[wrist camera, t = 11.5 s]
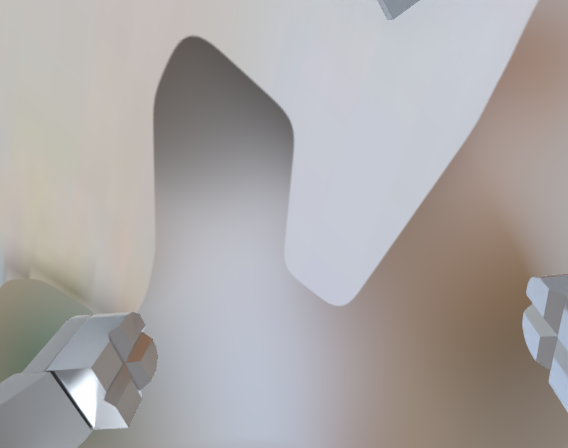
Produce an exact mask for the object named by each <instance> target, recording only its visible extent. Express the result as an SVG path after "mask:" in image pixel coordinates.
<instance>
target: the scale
mask: <svg viewBox="0 0 568 448" xmlns="http://www.w3.org/2000/svg"><path fill="white" fill-rule="evenodd" d="M418 1H419V0H378V2H379V4H380V6H381V8H382V10H383V12H384V14H385V16H386V18H387V19H388V20H393V19H395V18H396V17H397V16H399V15H400V14H401V13H403V12H404V11H406V10H407V9H408V8H410V7H411V6H412V5H414V4H415V3H416V2H418Z"/></svg>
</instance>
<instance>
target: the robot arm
mask: <svg viewBox="0 0 568 448" xmlns="http://www.w3.org/2000/svg"><path fill="white" fill-rule="evenodd" d="M526 294H527V296H528V297H529V299H530V300H531V301H532V305H530V306H529V307H528V308H527V309H526V310H525V311H524V313H523V324H522V326H523V332H524V337H525V341H526V343H527V346H528V348H529V351H530V352H531V354H532V355H533V357H534V359H535V361H536V362H538V363H539V364H541V365H543V366H544V367H546V368H548V369H549V370H551V372H550V377H549V383H550V385H551V387H552V388H553V390H554V391H555V393H556V394H557V396H558V398H559V399H560V401H561V403H562V404H563V406H564V407H565V409H566V410H567V412H568V274H558V275H547V276H536V277H532V278H531V279H530V281H529V282H528V286H527V292H526ZM144 327H145V323H144V321H143V319H142V318H141V316H140V314H138V313H135V312H123V313H107V314H94V315H81V316H75V317H73V318H70V319H68V320H67V321H66V322H65V323H64V325H63V326H62V327H61V328H60V329H59V330H58V332H57V333H56V334H55V335H54V336H53V337H52V339H51V340H50V341H49V342H48V343H47V344H46V345H45V347H44V348H43V349H42V350H41V351H40V352H39V354H38V355H37V356H36V357H35V358H34V359H33V361H32V362H31V363H30V364H29V365H28V366H27V368H26V369H25V370H24V371H23V372H22V373H19V374H14V375H12V376H11V377H9V378H8V379H6V380H5V381H3V382H1V383H0V448H77V447H78V446H79V445H80V444H81V443H82V442H83V441H84V440H85V439H86V438H87V437H88V436H89V435H90V434H91V433H92V430H96V429H113V428H128V427H129V426H130V423H131V421H132V419H133V417H134V415H135V413H136V411H137V409H138V407H139V405H140V403H141V401H142V395H141V391H140V390H141V389H142V388H143V387H145V386H146V385H147V384H148V383H149V382H150V381H151V380H152V378H153V376H154V373H155V371H156V367H157V359H158V355H157V349H156V345H155V343H154V341H153V339H152V338H150V337H149V336H148V335H146V334H145V333H143V330H144Z"/></svg>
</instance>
